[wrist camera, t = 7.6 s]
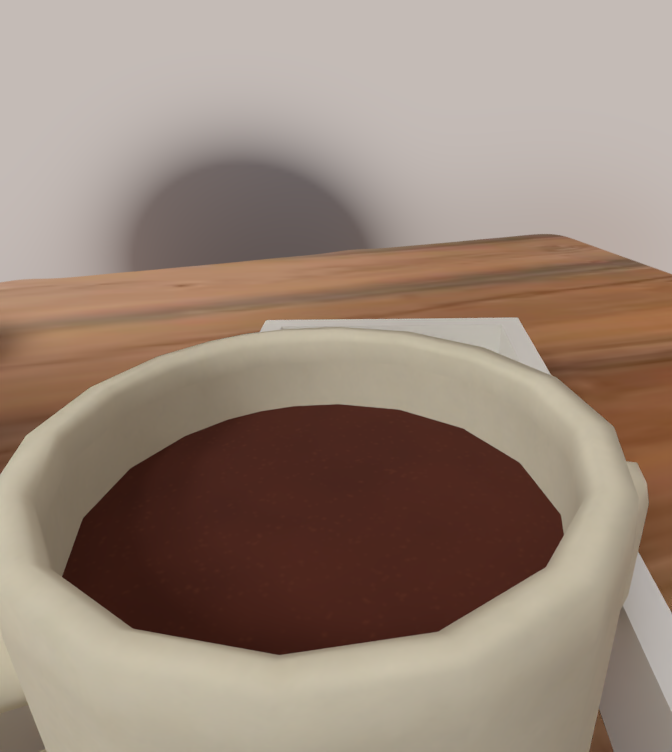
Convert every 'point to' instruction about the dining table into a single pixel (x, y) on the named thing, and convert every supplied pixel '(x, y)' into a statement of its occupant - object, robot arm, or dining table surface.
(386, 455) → the character mug
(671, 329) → the dining table surface
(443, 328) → the tray
